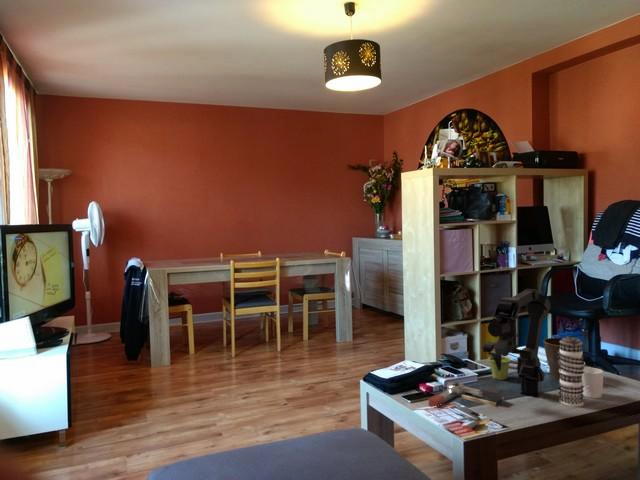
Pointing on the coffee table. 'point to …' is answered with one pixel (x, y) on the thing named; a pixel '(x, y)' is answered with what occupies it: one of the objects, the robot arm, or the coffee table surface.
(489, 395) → the socket
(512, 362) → the c clamp
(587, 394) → the white cup
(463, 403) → the coffee table surface
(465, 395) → the guide rails
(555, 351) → the plant pot
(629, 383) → the coffee table surface
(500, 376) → the plant pot
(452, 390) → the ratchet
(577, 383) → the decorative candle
